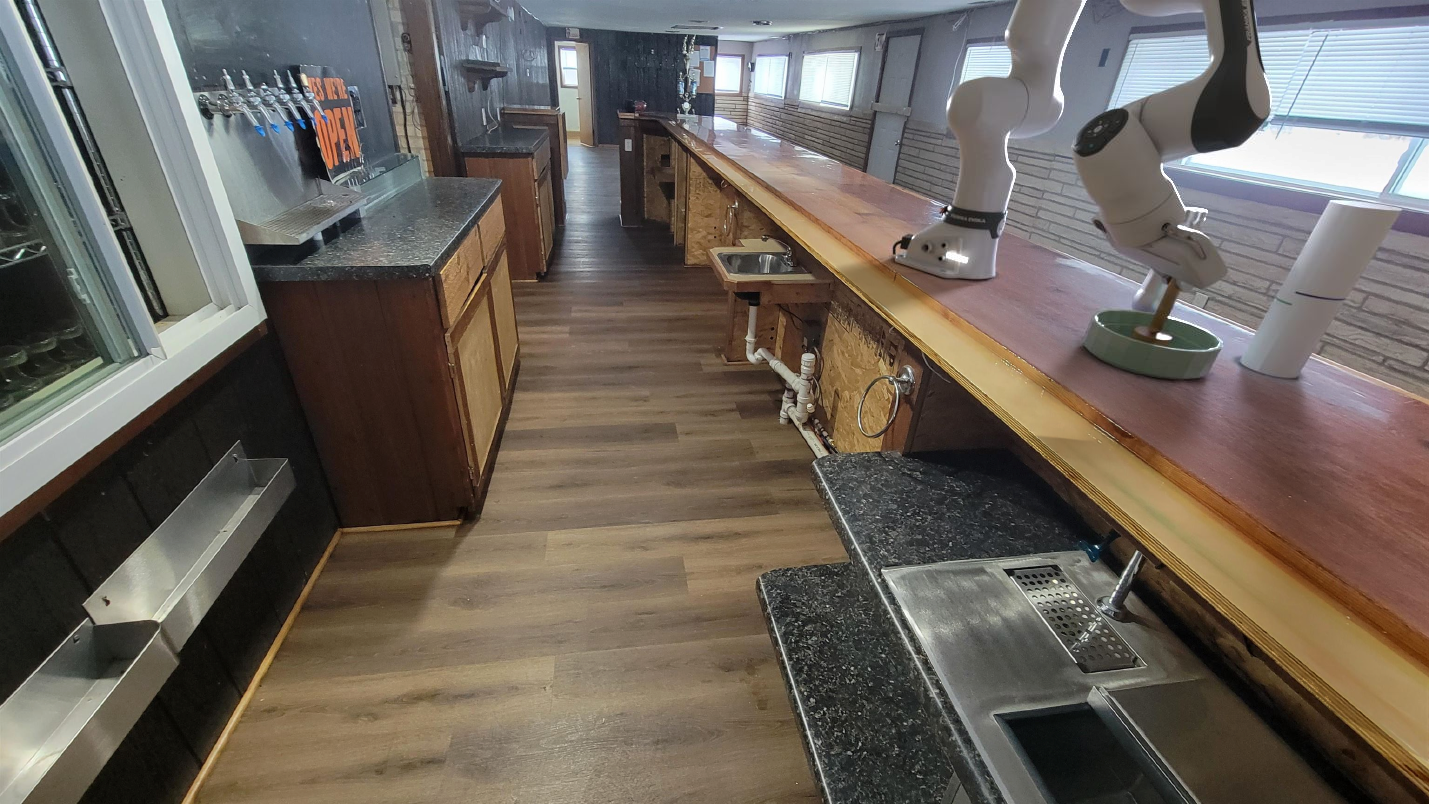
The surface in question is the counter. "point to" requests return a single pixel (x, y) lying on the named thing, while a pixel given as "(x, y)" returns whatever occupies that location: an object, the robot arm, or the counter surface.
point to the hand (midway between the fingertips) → (1179, 285)
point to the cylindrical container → (1318, 285)
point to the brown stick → (1159, 320)
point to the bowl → (1151, 345)
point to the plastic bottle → (1153, 285)
